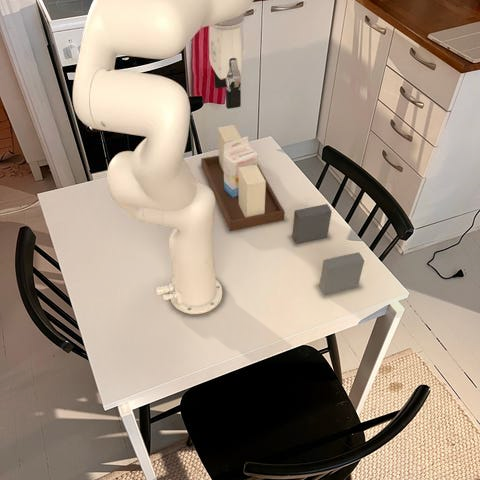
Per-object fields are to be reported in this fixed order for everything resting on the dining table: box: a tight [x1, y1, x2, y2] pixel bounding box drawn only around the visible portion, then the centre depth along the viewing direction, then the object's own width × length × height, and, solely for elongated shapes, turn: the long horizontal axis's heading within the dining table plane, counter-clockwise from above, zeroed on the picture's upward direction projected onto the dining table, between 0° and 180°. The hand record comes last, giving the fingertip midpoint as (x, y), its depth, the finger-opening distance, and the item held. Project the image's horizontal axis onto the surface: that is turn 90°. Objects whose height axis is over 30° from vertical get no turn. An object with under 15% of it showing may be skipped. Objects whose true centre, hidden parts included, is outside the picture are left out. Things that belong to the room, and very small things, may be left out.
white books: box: [217, 124, 266, 218], centre depth 142 cm, size 5×29×12 cm, turn 17°
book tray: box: [200, 155, 285, 232], centre depth 146 cm, size 16×32×3 cm, turn 17°
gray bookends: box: [291, 203, 365, 296], centre depth 126 cm, size 9×22×9 cm, turn 17°
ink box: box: [223, 135, 259, 197], centre depth 141 cm, size 8×5×15 cm, turn 123°
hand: (227, 96), depth 114 cm, fingers open, 9 cm apart
